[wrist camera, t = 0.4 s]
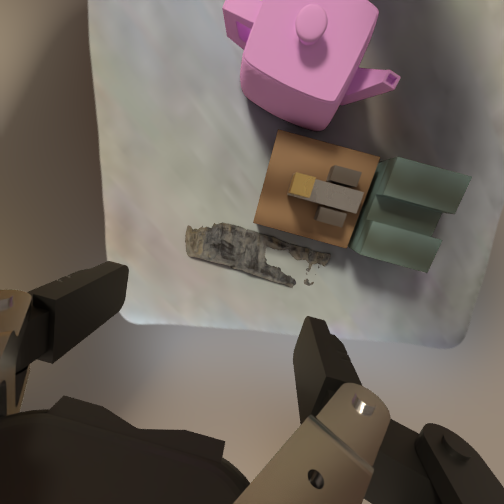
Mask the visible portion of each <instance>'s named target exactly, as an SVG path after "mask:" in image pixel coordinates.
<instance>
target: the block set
mask: <svg viewBox="0 0 504 504" xmlns="http://www.w3.org/2000/svg"><path fill="white" fill-rule="evenodd" d="M379 160H380V157H378V156H374V155H371V154H367V153H363V152H360V151H356V150H352V149H349V148H345V147H341V146H338V145H334V144H330V143H327V142H323V141H319V140H316V139H312V138H308V137H305V136H301V135H297V134H293V133H290V132H286V131H282V130H279V129H278V132H277V136H276V139H275V143H274V147H273V151H272V154H271V158H270V162H269V166H268V169H267V173H266V177H265V180H264V184H263V188H262V192H261V195H260V199H259V203H258V207H257V210H256V214H255V218H254V221H253V223H256V224H260V225H264V226H267V227H271V228H274V229H278V230H282V231H285V232H289V233H292V234H296V235H300V236H303V237H307V238H310V239H314V240H318V241H321V242H325V243H329V244H332V245H336V246H339V247H343V248H347V246H348V247H350V248H351V249H353V250H354V251H356V252H357V253H359V254H360V255H364V256H368V257H371V258H375V259H378V260H382V261H386V262H389V263H393V264H396V265H400V266H404V267H407V268H411V269H414V270H418V271H422V272H425V273H427V272H428V270H429V268H430V266H431V264H432V262H433V260H434V257H435V255H436V253H437V251H438V249H439V247H440V245H441V242H442V240H440V239H436V238H433V237H431V236H432V234H433V232H434V230H435V228H436V225H437V223H438V221H439V219H440V216H441V214H442V213H450V214H455V212H456V210H457V208H458V206H459V204H460V202H461V200H462V197H463V195H464V193H465V191H466V189H467V187H468V185H469V182H470V180H471V178H472V177H471V176H467V175H464V174H460V173H456V172H453V171H449V170H445V169H441V168H438V167H434V166H430V165H427V164H423V163H419V162H416V161H412V160H408V159H405V158H401V157H395V158H392V159H389V160H386V161H382V162H379ZM378 162H379V163H378ZM296 172H297V173H301V174H305V175H308V176H312V177H316V179H317V180H321V181H325V182H328V183H332V184H336V185H339V186H343V187H347V188H350V189H354V190H358V191H361V192H364V194H363V197H362V200H361V202H360V205H359V208H358V211H357V213H351V212H348V211H344V210H340V209H337V208H333V207H329V206H326V205H322V204H318V203H315V202H311V201H308V200H304V199H300V198H297V197H293V196H289V195H287V192H288V188H289V185H290V182H291V178H292V175H293V174H294V173H296Z"/></svg>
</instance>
